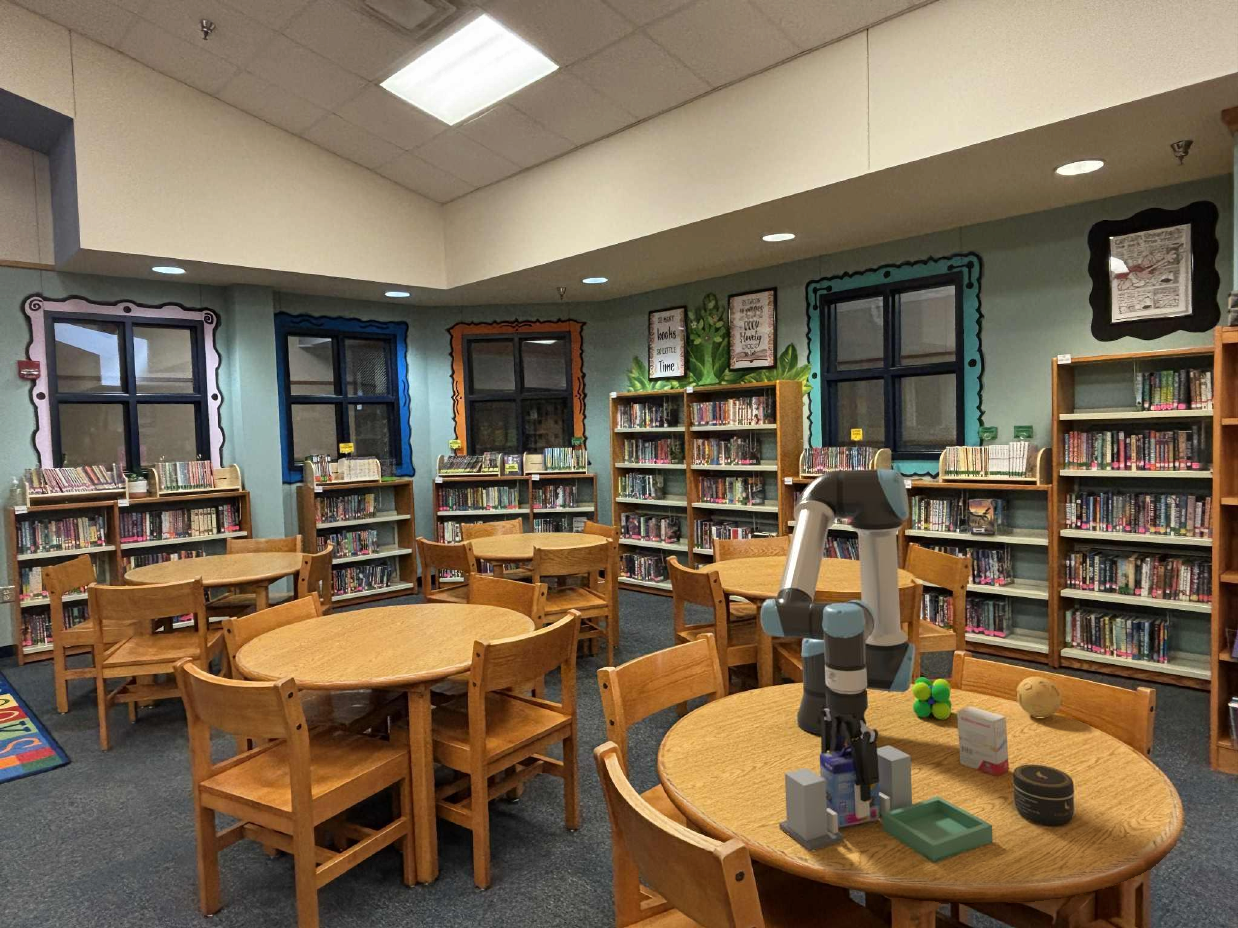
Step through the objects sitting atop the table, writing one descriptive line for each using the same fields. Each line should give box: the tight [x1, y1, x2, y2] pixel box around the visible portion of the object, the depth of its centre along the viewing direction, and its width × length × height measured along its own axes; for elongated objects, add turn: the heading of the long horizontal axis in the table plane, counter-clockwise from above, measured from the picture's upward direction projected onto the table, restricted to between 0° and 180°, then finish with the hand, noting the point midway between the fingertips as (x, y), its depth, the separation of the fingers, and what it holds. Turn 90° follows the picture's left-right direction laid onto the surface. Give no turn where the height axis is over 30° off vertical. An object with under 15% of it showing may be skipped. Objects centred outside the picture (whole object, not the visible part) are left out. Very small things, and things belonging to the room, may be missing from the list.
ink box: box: [956, 706, 1010, 777], centre depth 158 cm, size 9×5×12 cm, turn 33°
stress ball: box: [1015, 676, 1063, 718], centre depth 184 cm, size 10×10×10 cm
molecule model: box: [912, 676, 952, 721], centre depth 188 cm, size 9×9×9 cm
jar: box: [1012, 764, 1075, 828], centre depth 138 cm, size 10×10×8 cm
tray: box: [881, 796, 994, 864], centre depth 132 cm, size 12×14×3 cm
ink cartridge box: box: [819, 745, 881, 829], centre depth 138 cm, size 10×6×14 cm, turn 106°
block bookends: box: [778, 745, 913, 852], centre depth 138 cm, size 9×26×11 cm, turn 114°
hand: (850, 807), depth 139 cm, fingers closed on ink cartridge box, 6 cm apart
